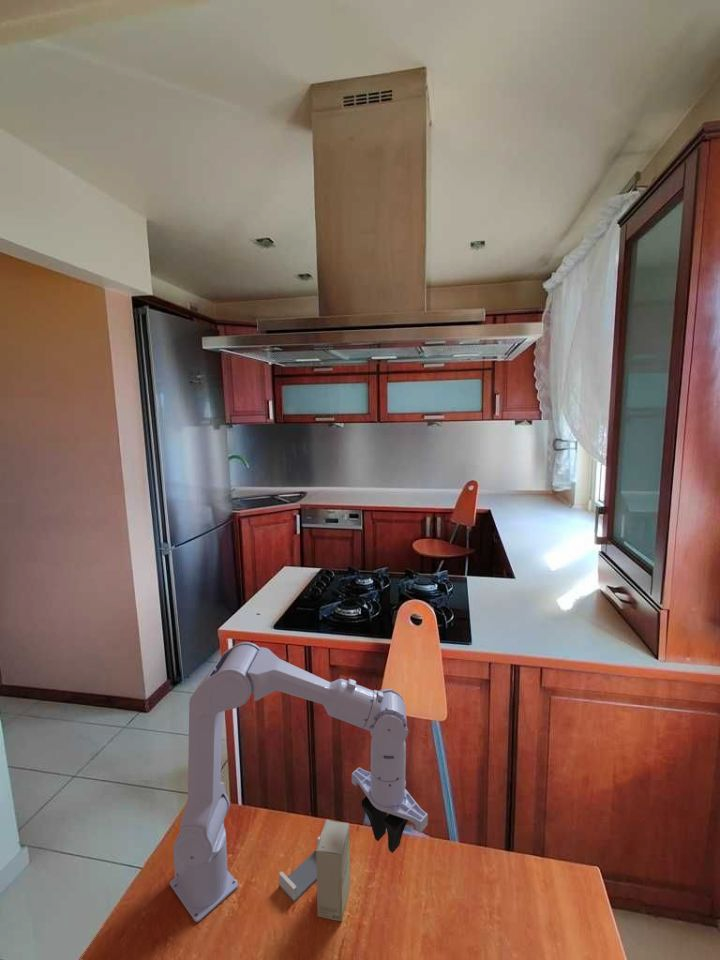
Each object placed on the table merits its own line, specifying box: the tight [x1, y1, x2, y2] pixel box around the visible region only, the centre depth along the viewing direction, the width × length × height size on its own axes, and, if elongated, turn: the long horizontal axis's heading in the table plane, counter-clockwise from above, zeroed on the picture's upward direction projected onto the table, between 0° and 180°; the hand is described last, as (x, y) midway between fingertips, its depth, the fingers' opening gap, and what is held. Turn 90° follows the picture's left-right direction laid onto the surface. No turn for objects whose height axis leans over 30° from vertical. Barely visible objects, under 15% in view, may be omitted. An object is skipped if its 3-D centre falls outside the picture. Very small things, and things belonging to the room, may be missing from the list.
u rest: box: [278, 835, 321, 903], centre depth 81 cm, size 4×10×3 cm, turn 138°
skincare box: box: [315, 818, 351, 922], centre depth 76 cm, size 6×4×12 cm
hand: (387, 841), depth 76 cm, fingers open, 2 cm apart
